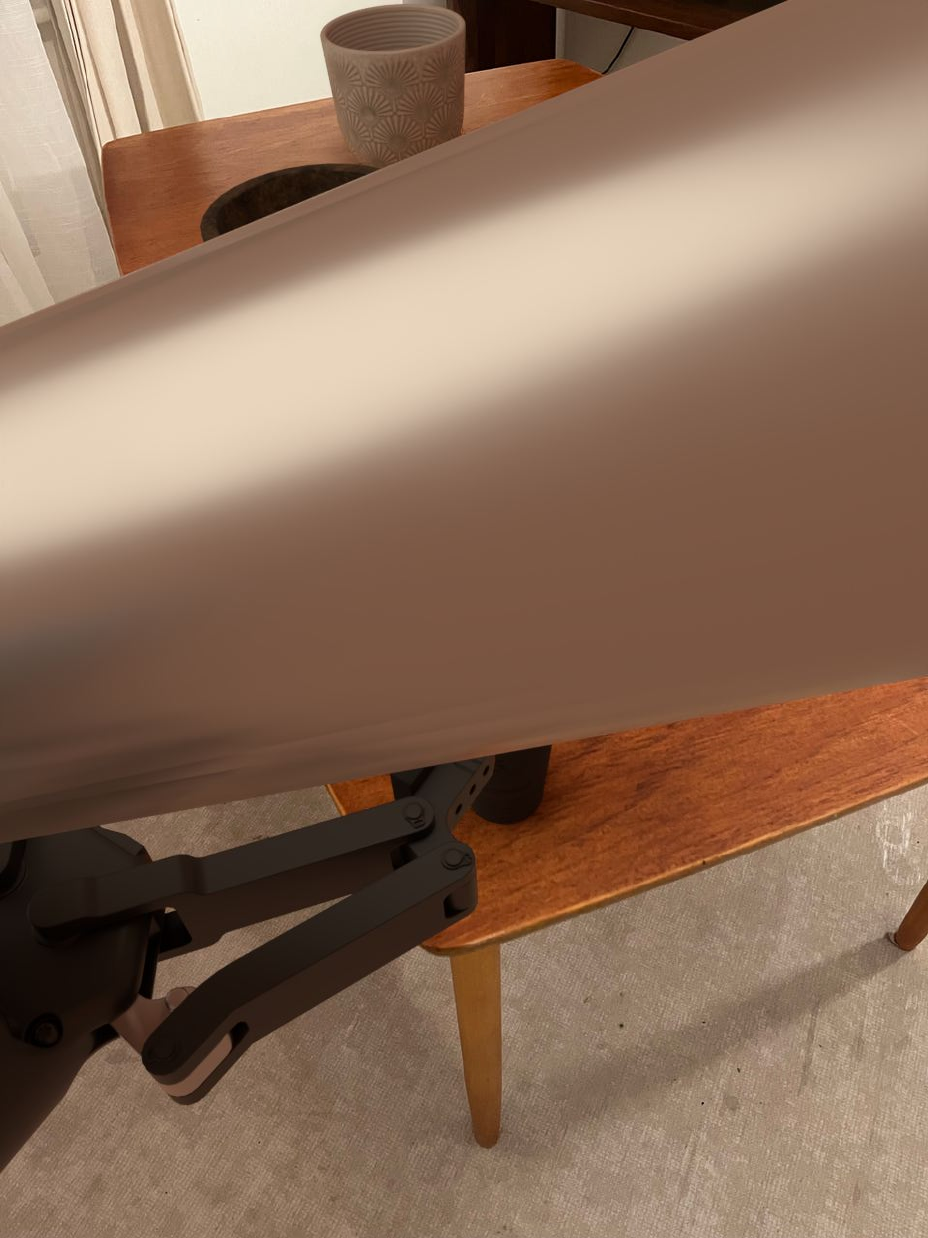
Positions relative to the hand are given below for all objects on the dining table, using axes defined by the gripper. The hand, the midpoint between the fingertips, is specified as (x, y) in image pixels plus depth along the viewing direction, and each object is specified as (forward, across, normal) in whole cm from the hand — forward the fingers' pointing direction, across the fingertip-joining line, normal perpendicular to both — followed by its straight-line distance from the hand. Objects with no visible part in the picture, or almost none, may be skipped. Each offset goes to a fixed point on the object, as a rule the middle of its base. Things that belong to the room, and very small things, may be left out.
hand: (353, 589), depth 36 cm
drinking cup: (+10, 0, -27) cm, 29 cm away
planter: (+84, -58, -27) cm, 106 cm away
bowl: (+51, -46, -27) cm, 74 cm away
